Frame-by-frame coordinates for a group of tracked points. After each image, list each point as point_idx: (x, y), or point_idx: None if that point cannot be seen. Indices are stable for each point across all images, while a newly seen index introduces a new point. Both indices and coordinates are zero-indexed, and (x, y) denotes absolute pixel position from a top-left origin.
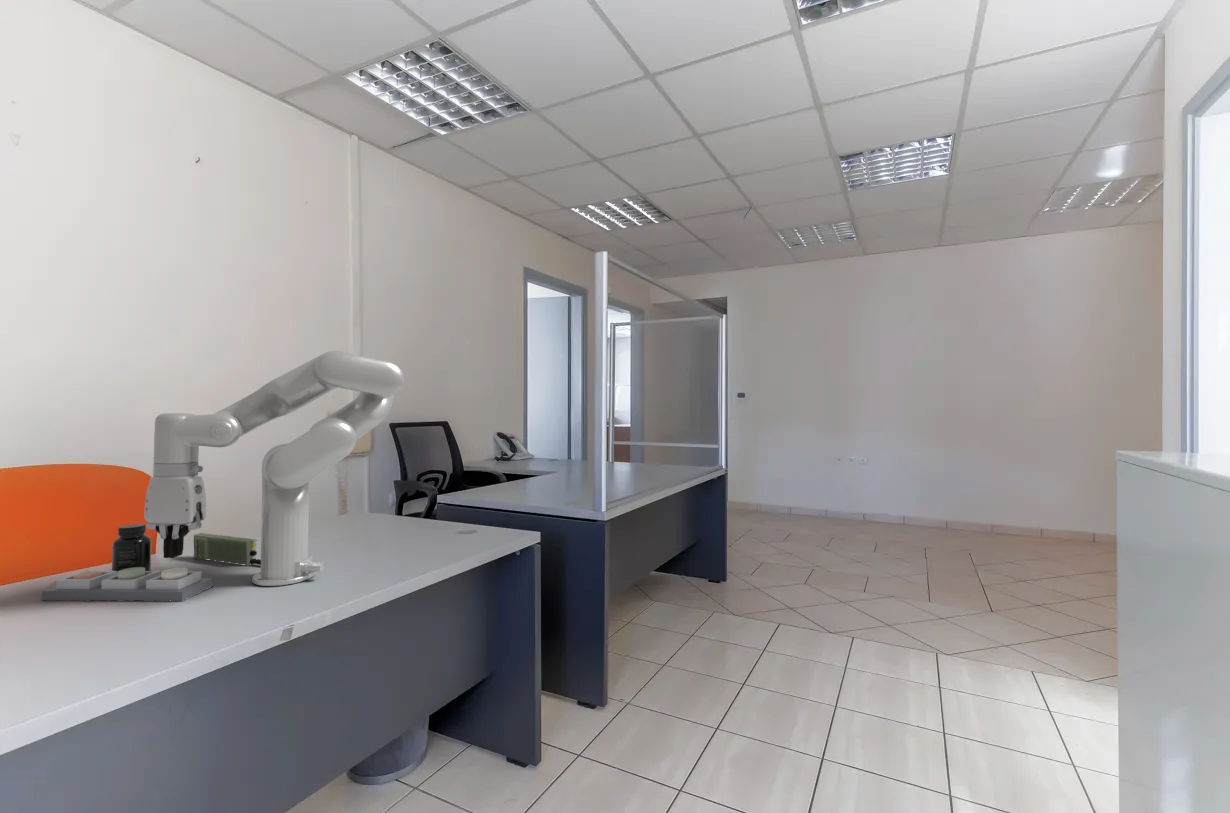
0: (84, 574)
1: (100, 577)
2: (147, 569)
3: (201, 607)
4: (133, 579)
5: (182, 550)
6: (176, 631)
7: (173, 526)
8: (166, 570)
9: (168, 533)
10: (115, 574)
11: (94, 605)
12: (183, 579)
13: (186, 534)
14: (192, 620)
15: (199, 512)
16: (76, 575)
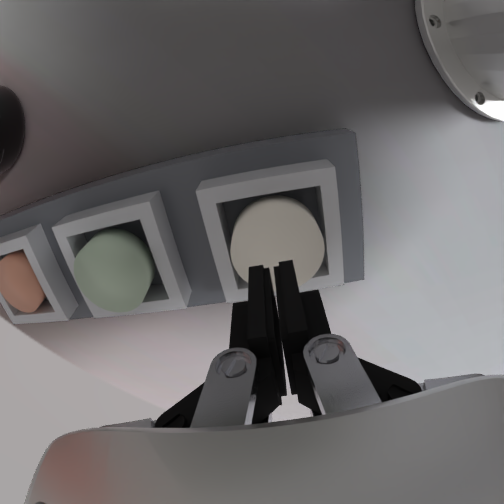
0: (10, 288)
1: (52, 289)
2: (10, 110)
3: (429, 284)
4: (151, 282)
5: (317, 292)
6: (442, 368)
7: (248, 423)
8: (242, 259)
9: (263, 415)
10: (34, 237)
11: (152, 320)
12: (342, 262)
13: (349, 346)
14: (446, 336)
15: (499, 448)
16: (7, 297)
